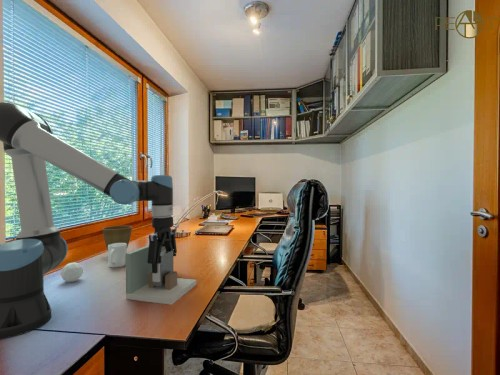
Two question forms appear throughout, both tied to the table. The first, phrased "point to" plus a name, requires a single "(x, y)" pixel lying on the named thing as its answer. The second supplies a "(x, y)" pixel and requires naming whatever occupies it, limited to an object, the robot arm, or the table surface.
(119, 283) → the table surface
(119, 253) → the mug
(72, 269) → the ball
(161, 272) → the grey rectangular box
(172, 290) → the l-shaped bookend
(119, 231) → the plant pot
